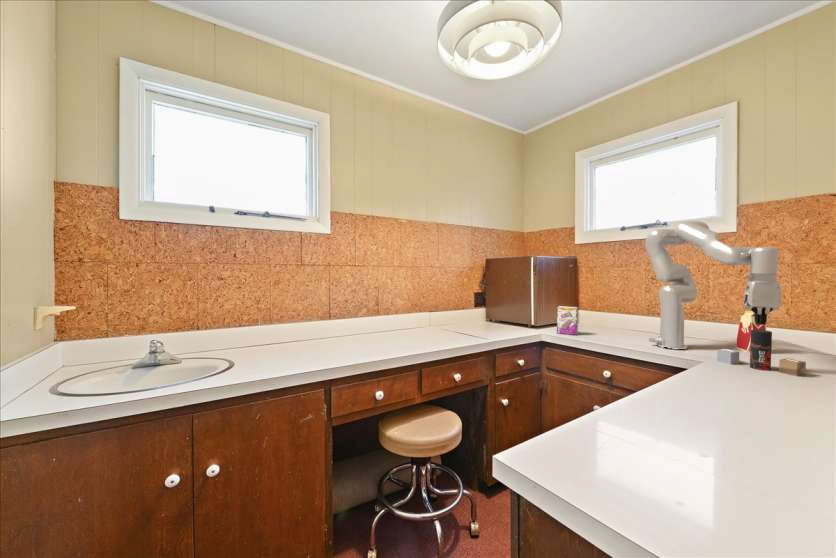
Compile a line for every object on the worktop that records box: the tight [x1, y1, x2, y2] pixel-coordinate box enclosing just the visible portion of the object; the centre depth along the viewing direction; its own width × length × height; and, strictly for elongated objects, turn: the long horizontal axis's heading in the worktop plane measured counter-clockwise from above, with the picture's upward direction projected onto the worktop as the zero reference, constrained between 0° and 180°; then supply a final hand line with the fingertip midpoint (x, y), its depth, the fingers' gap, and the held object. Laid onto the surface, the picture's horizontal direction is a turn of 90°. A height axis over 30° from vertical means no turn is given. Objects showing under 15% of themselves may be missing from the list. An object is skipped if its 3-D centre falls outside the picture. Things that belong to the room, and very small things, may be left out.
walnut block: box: [778, 357, 807, 377], centre depth 128 cm, size 5×5×5 cm
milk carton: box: [735, 310, 768, 353], centre depth 161 cm, size 9×9×20 cm
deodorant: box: [749, 329, 773, 372], centre depth 135 cm, size 6×6×15 cm
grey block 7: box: [716, 348, 740, 365], centre depth 143 cm, size 5×5×5 cm
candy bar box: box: [556, 305, 579, 336], centre depth 203 cm, size 11×5×16 cm, turn 58°
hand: (760, 324), depth 135 cm, fingers closed
